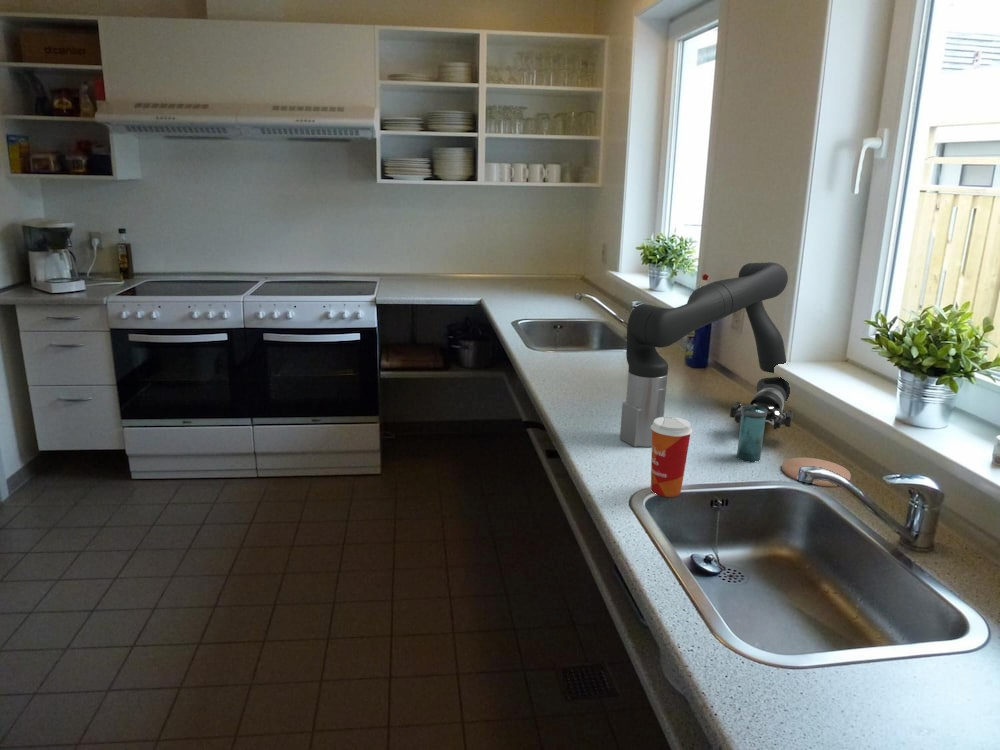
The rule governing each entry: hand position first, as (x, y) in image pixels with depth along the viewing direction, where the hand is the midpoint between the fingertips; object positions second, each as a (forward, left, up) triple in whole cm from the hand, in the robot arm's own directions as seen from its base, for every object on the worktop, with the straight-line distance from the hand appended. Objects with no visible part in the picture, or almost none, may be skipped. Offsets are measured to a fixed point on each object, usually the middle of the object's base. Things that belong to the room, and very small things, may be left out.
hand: (756, 422), depth 176 cm
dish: (+1, -17, -7) cm, 19 cm away
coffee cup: (-36, -11, -7) cm, 38 cm away
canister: (-6, -4, -7) cm, 10 cm away
